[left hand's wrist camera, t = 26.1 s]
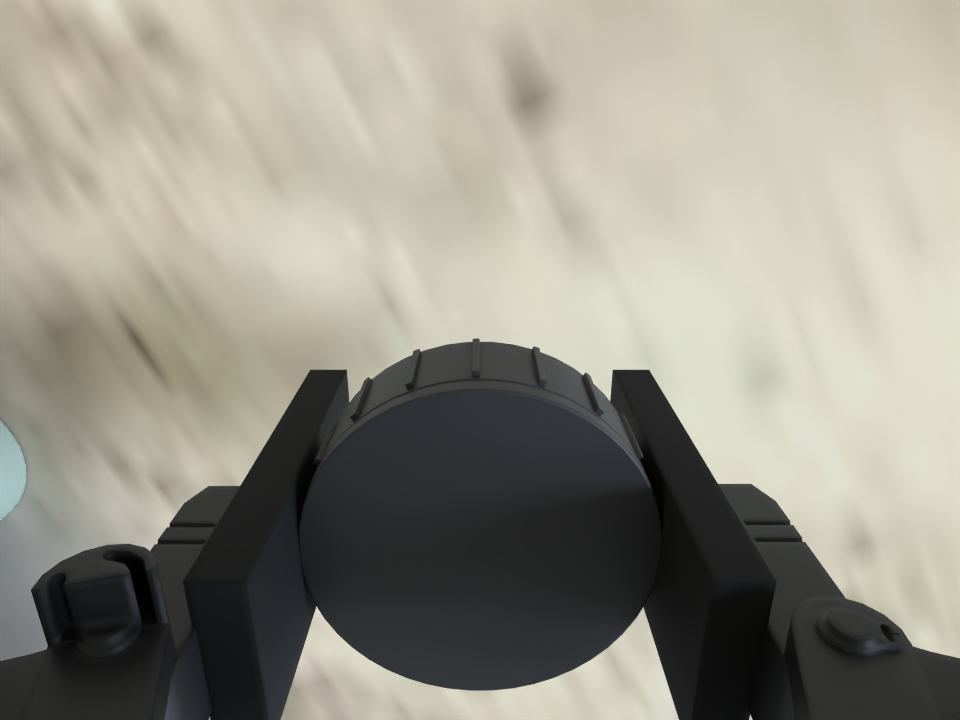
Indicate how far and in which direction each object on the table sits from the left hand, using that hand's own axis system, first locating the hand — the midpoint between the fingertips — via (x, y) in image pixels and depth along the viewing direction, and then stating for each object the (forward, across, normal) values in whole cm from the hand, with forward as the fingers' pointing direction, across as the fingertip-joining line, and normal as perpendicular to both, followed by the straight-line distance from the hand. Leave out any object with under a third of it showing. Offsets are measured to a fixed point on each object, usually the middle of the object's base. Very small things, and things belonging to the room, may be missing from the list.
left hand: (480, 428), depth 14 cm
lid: (-4, 0, 0) cm, 4 cm away
